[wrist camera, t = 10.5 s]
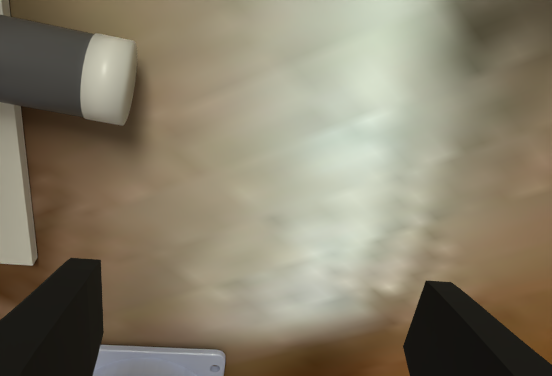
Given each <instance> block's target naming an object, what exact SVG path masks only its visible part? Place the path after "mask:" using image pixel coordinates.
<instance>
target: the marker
mask: <svg viewBox="0 0 552 376" xmlns="http://www.w3.org/2000/svg"><path fill="white" fill-rule="evenodd" d="M136 72H137V45H136V42H135V41H133V40H128V39H123V38H118V37H114V36H109V35H104V34H99V33H96V34H92V33H87V32H82V31H77V30H72V29H67V28H63V27H58V26H53V25H48V24H43V23H39V22H34V21H29V20H24V19H19V18H15V17H10V16H5V15H0V102H2V103H7V104H13V105H18V106H24V107H29V108H35V109H41V110H46V111H52V112H57V113H63V114H68V115H74V116H79V117H84V118H85V119H88V120H93V121H99V122H105V123H110V124H116V125H121V126H123V125H124V124H125V123H126V120H127V118H128V115H129V112H130V108H131V104H132V99H133V94H134V88H135V81H136Z"/></svg>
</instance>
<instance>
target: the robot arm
mask: <svg viewBox="0 0 552 376" xmlns="http://www.w3.org/2000/svg"><path fill="white" fill-rule="evenodd" d="M102 337H103V308H102V282H101V260H94V259H78V258H70V259H69V260H67V261H66V262H65V263H64V264H63V265H62V266H60V267H59V268H58V269H57V270H56V271H55V272H54V273H53V274H52V275H51V276H50V277H49V278H47V279H46V280H45V281H44V282H43V283H42V284H41V285H40V286H39V287H38V288H37V289H35V290H34V291H33V292H32V293H31V294H30V295H29V296H28V297H27V298H25V299H24V300H23V301H22V302H21V303H20V304H19V305H17V306H16V307H15V308H14V309H13V310H12V311H11V312H9V313H8V314H7V315H6V316H5V317H4V318H2V319H1V320H0V376H224V369H225V354H224V352H222V351H220V350H212V349H189V348H165V347H142V346H118V345H101V341H102ZM403 348H404V352H405V356H406V361H407V365H408V369H409V373H410V376H552V365H551V364H550V363H549V362H548V361H546V360H545V359H544V358H543V357H541V356H540V355H539V354H538V353H536V352H535V351H534V350H533V349H531V348H530V347H529V346H528V345H527V344H525V343H524V342H523V341H522V340H520V339H519V338H518V337H517V336H516V335H514V334H513V333H512V332H511V331H510V330H509V329H507V328H506V327H505V326H504V325H503V324H501V323H500V322H499V321H498V320H497V319H496V318H494V317H493V316H492V315H491V314H490V313H488V312H487V311H486V310H485V309H484V308H483V307H481V306H480V305H479V304H478V303H477V302H475V301H474V300H473V299H472V298H471V297H469V296H468V295H467V294H466V293H465V292H463V291H462V290H461V289H460V288H458V287H457V286H456V285H454V284H453V283H451V282H439V281H426V282H425V285H424V288H423V291H422V294H421V296H420V299H419V302H418V305H417V308H416V311H415V314H414V317H413V320H412V322H411V325H410V328H409V331H408V334H407V337H406V340H405V343H404V345H403ZM213 365H217V366H213Z"/></svg>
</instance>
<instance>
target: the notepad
mask: <svg viewBox="0 0 552 376" xmlns="http://www.w3.org/2000/svg"><path fill="white" fill-rule="evenodd" d="M0 15H5V16H10V17H11V15H10V6H9V0H0ZM37 258H38V256H37V247H36V238H35V229H34V220H33V212H32V203H31V194H30V185H29V176H28V167H27V158H26V149H25V140H24V131H23V122H22V113H21V106H18V105H13V104H7V103H2V102H0V264H15V265H32V266H33V264H34V263H35V261H36V259H37Z"/></svg>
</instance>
